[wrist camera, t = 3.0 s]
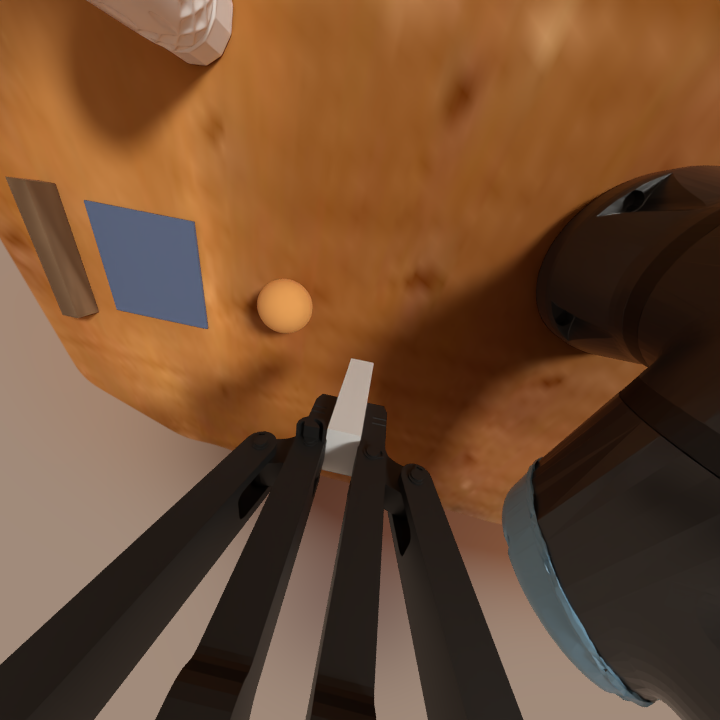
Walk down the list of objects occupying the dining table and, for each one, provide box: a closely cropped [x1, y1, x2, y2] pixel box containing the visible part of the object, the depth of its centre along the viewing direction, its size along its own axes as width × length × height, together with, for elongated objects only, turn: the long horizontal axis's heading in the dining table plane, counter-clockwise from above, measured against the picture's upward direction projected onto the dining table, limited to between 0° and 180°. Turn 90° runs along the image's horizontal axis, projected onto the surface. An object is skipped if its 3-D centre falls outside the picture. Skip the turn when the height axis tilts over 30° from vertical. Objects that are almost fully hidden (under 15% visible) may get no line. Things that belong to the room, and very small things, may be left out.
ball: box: [257, 279, 313, 333], centre depth 27 cm, size 6×6×6 cm
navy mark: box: [84, 200, 208, 329], centre depth 30 cm, size 12×12×1 cm
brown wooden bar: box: [6, 177, 99, 318], centre depth 29 cm, size 2×14×2 cm, turn 170°
